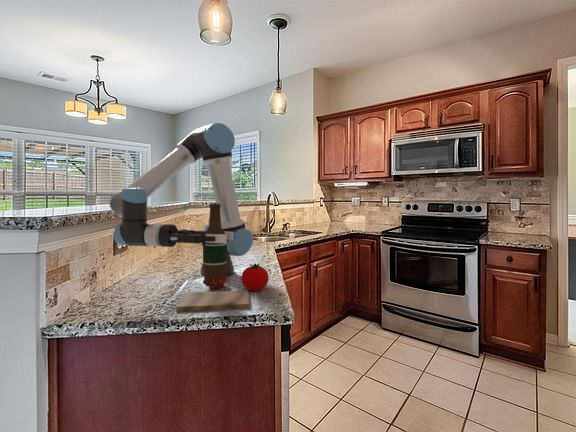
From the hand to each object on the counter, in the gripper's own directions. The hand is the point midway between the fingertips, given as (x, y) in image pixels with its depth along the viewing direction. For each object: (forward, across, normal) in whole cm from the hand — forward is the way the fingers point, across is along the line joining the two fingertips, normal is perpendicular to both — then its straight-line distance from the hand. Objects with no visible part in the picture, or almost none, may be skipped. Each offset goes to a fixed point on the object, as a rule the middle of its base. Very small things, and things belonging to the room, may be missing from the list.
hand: (229, 237), depth 99 cm
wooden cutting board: (-5, 0, -22) cm, 23 cm away
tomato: (+6, -15, -22) cm, 27 cm away
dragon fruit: (-10, -16, -22) cm, 29 cm away
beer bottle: (-5, 0, -13) cm, 14 cm away
